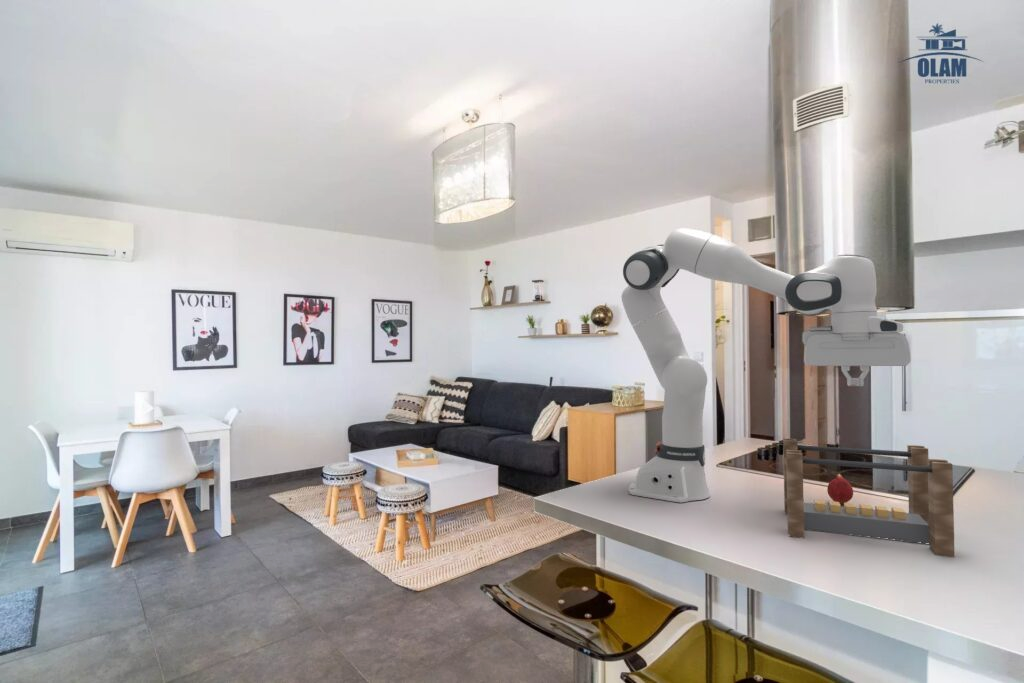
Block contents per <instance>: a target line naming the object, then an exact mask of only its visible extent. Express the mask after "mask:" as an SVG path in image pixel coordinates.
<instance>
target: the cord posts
mask: <svg viewBox="0 0 1024 683" xmlns="http://www.w3.org/2000/svg"><path fill="white" fill-rule="evenodd" d="M782 444H783V445H782V446H783V447H782V450H783V451H782V456H783V493H784V494H783V496H784V498H783V500H784V501H783V502H784V515H785V514H788V515H787V533H789V534H788V536H789V535H790V536H789V537H792V536H796V537H795V538H800V537H804V538H805V529H804V503H805V502H804V499H805V498H804V463H803V458H804V457H803V456H804V455H803V453H802V450H798V445H799V444H798V439H797V438H787V437H786V438H785V437H783V438H782ZM906 450H907V451H906V452H911V457H907V465H915V466H929V467H932V473H930V472H916V471H907V485H908V486H907V488H908V489H907V490H908V491H907V492H908V513H913V514H919V515H920V516H921V517H922V518H923V519H924V520H925V521H926V523H927V524H928V525H929V543H930V544H929V549H930V548H931V549H930V550H931V551H932V552H933V554H934V555H935V554H936V555H937V556H944V557H951V558H955V518H954V512H955V511H954V510H955V509H954V478H953V476H954V474H953V473H954V470H953V469H954V468H953V463H951V462H949V461H948V460H946V459H936V458H929V448H927V447H925V446H924V445H917V444H914V445H913V444H907V449H906Z"/></svg>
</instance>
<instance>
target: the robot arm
mask: <svg viewBox="0 0 1024 683" xmlns="http://www.w3.org/2000/svg"><path fill="white" fill-rule="evenodd" d="M680 270H684V271H687V272H689V273H692V274H694V275H697V276H699V277H703V278H705V279H709V280H713V281H718V282H724V283H730V284H737V285H743V286H748V287H751V288H755V289H757V290H758V291H762V292H764V293H767V294H769V295H772V296H775V297H778V298H780V299H782V300H784V301H785V302H786V303H787V304H788V305H789V306H790V307H792V309H793V310H794V311H796V313H798V314H800V315H803V316H807V317H816V316H821V315H823V314H825V313H826V312H828V311H829V310H830V320H831V321H830V322H831V326H830V325H828V326H827V325H826V326H825V325H824V326H809V328H807V329H805V330H803V331H802V333H801V334H802V335H801V336H802V338H801V339H802V340H801V341H802V344H803V345H804V346H805V347H804V353H803V363H805V365H806V366H808V367H841V368H840V369H841V372H842V374H843V375H844V376H845V378H846V382H847V386H848V387H864V384H865V383H864V382H865V381H864V379H865V378H866V377H867V375H868V373H869V372H870V367H907V366H908V365H909V364H911V360H912V358H911V356H912V355H911V349H910V343H909V341H908V338H907V336H906V335H905V334H904V333H902V332H903V331H904V324H903V323H902V322H900V321H895V320H891V319H887V318H882V317H878V308H877V306H876V296H877V292H878V290H877V289H878V288H877V276H876V275H877V274H876V273H877V272H876V268H875V264H874V263H873V261H872V260H871V259H870V258H868V257H866V256H865V255H858V254H840V255H836V256H833V258H831V259H829V261H827V262H825V263H824V264H822V265H820V266H818V267H816V268H812V269H810V270H808V271H804V272H802V273H798V274H797V275H792V274H789V273H786V272H783V271H781V270H779V269H776V268H773V267H771V266H769V265H766V264H763V263H762V262H759V261H758V260H757V259H755V258H754V257H752V255H750V254H749V253H747V252H746V251H745V250H744V249H743V248H741V247H740V246H739V245H737V244H736V243H734V242H733V241H730V240H729V239H726V238H724V237H722V236H720V235H717V234H715V233H711V232H708V231H705V230H700V229H696V228H695V229H694V228H688V227H678V228H675V229H674V230H672V231H671V232H669V234H668V236H667V237H666V239H665V242H664V244H657V245H653V246H649V247H645V248H643V249H642V250H639V251H636V252H634V253H633V254H631V255H630V256H629V257H628V258H627V259H626V261H625V263H624V264H623V268H622V275H623V279H624V281H625V283H626V284H627V285H628V286H626V287H625V288H624V290H623V291H622V292H621V293H622V294H621V302H622V306H623V308H624V312H625V313H626V316H627V318H628V322H630V325H631V327H632V329H633V330H634V332H635V334H636V336H637V338H638V341H639V342H640V344H641V346H642V348H643V350H644V351H645V354H646V356H647V359H648V360H649V363H650V365H651V368H652V369H653V371H654V374H655V376H656V378H657V381H658V382H659V383H660V386H661V387H662V388H663V389H664V398H663V408H662V409H663V410H662V415H661V426H662V427H661V431H662V432H661V433H662V436H661V437H662V440H661V441H657V443H656V444H655V448H654V450H655V456H654V457H653V458H650V459H649V461H647V462H645V463H644V464H642V465H641V466H640V468H639V469H638V470H637V473H636V474H637V475H636V477H635V478H636V479H635V481H634V482H632V483H630V484H629V486H628V488H627V489H628V490H627V491H628V493H629V494H630V495H632V496H637V497H644V498H650V499H656V500H663V501H667V502H672V503H673V502H675V503H686V502H693V501H701V500H705V499H708V498H709V497H711V493H710V491H709V487H708V483H707V477H706V472H705V464H706V449H705V444H704V442H703V441H704V438H703V437H704V435H703V434H704V431H703V430H704V429H703V416H704V407H705V400H706V389H707V386H708V385H707V384H708V376H707V372H706V370H705V369H704V367H703V366H702V364H700V363H699V362H698V361H696V360H694V359H691V358H690V355H689V353H688V352H687V349H686V347H685V345H684V344H685V343H684V342H683V338H682V334H681V332H680V330H679V328H678V326H677V325H676V322H675V321H674V319H673V317H672V314H671V313H670V311H669V309H668V308H667V306H666V304H665V302H664V300H663V298H662V296H661V289H662V288H665V287H666V286H667V285H668V284H669V283H670V282H671V281H672V280H673V279H674V278H675V277H676V275H677V274H678V273H679V271H680ZM851 367H859V368H860V371H861V374H860V375H859V376H858V377H852V376H851V375H850V373H849V372H850V370H851Z"/></svg>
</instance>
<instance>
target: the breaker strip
mask: <svg viewBox="0 0 1024 683" xmlns="http://www.w3.org/2000/svg"><path fill="white" fill-rule="evenodd" d="M805 529H807V530H806V531H813V530H815V532H822V531H825V532H824V533H830V532H834V533H833V534H838V533H844V534H843V535H847V534H852V535H851V536H855V535H861V536H860V537H863V536H870V537H869V538H871V537H880V538H888V539H895V540H894V541H896V540H903V541H902V542H905V541H911V542H910V543H913V542H921V543H929V525H928V524H927V523H926V521H925V520H924V519H923V518H922V517H921V516H920V515H919V514H913V513H909V512H906V511H905V510H904V509H903V508H901V507H894V506H891V508H890V510H889V508H887V506H882V505H875V506H874V509H873V508H872V506H871V505H870V504H862V503H859V506H858V507H857V505H856V504H855V503H853V502H846V503H844V504H843V505H840V503H839V502H835V501H833V500H832V501H831V500H829V501H828V504H826V502H825V500H821V499H814V500H813V503H812V502H804V530H805ZM880 538H879V539H880ZM888 539H887V540H888ZM921 543H920V544H921ZM928 545H930V543H929V544H928Z"/></svg>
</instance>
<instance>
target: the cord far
mask: <svg viewBox="0 0 1024 683" xmlns="http://www.w3.org/2000/svg"><path fill="white" fill-rule="evenodd" d="M797 445H798V451H812V452H825V453H826V452H827V453H828V452H829V453H841V454H844V453H845V454H858V455H874V456H875V455H876V456H888V457H889V456H890V457H906V458H908V457H911V452H907V451H904V450H890V449H889V450H887V449H873V448H871V449H869V448H852V447H835V446H820V445H803V444H802V445H801V444H797Z"/></svg>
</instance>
